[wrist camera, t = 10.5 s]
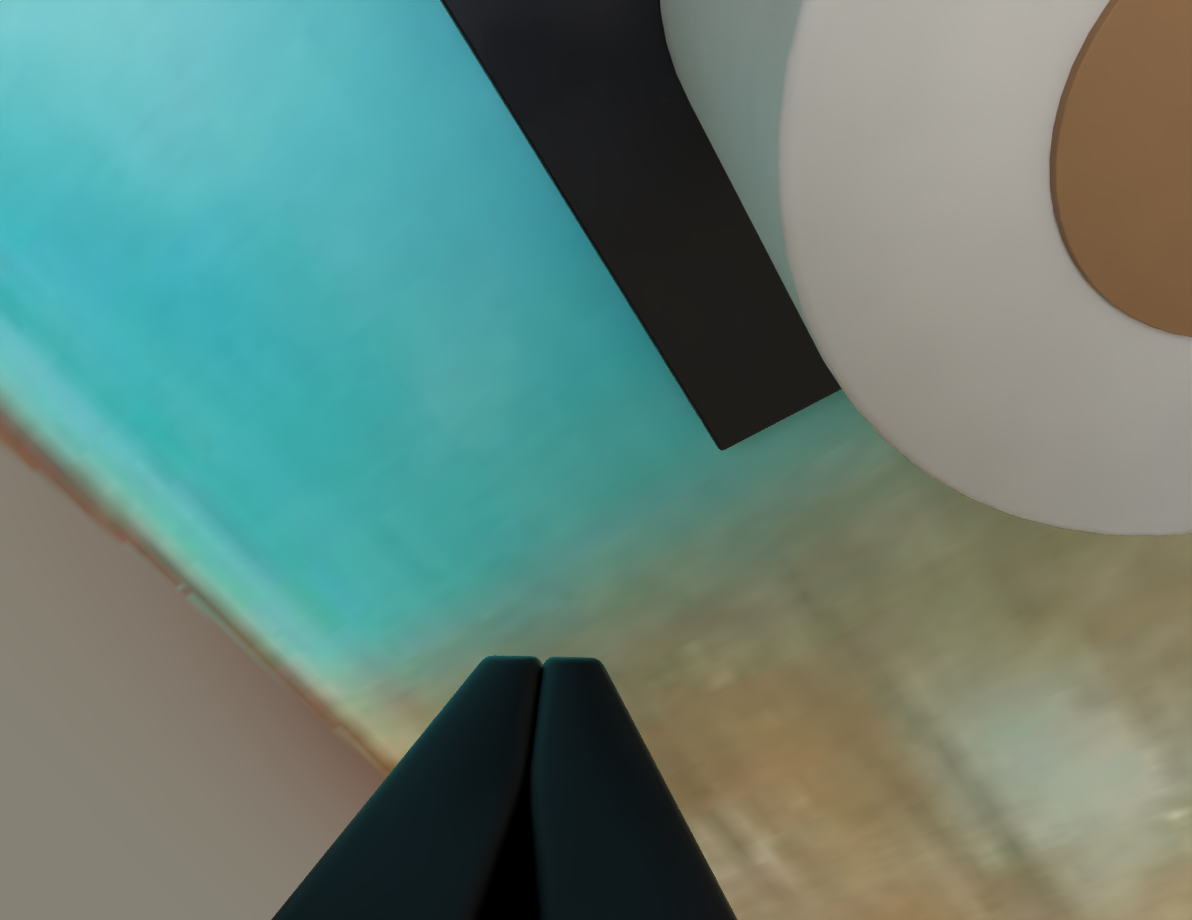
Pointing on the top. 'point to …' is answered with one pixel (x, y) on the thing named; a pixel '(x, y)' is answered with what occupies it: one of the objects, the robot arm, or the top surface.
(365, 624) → the top surface
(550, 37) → the holder
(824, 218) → the towel roll
